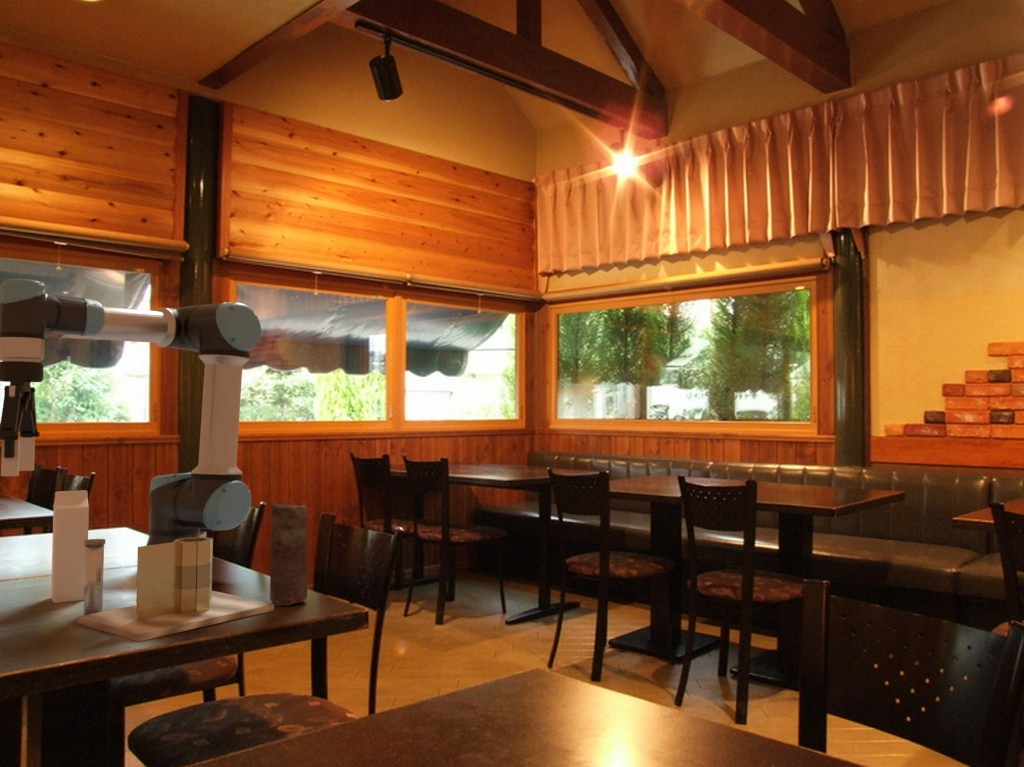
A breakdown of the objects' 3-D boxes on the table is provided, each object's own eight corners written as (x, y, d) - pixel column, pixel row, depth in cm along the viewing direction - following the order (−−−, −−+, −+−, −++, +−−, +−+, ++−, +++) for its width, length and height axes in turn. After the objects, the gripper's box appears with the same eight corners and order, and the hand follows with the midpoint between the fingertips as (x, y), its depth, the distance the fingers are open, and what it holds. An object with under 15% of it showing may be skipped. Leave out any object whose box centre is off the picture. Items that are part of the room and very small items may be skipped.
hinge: (203, 595, 170) (205, 531, 170) (238, 603, 163) (239, 536, 164) (112, 613, 154) (114, 542, 155) (147, 623, 148) (149, 548, 148)
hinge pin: (97, 611, 161) (99, 538, 161) (107, 614, 159) (109, 540, 159) (78, 615, 158) (80, 540, 158) (88, 618, 156) (90, 542, 156)
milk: (86, 600, 171) (90, 491, 171) (52, 603, 167) (56, 492, 168) (83, 594, 176) (86, 488, 176) (50, 597, 172) (53, 490, 173)
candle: (268, 600, 172) (270, 502, 173) (304, 597, 175) (306, 501, 175) (271, 608, 165) (273, 506, 166) (309, 605, 168) (311, 504, 168)
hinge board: (211, 596, 175) (211, 590, 175) (274, 610, 163) (274, 604, 163) (77, 623, 152) (77, 616, 152) (138, 641, 140) (138, 634, 140)
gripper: (13, 363, 170) (10, 469, 169) (-20, 356, 146) (-23, 478, 146) (55, 364, 172) (52, 468, 172) (29, 358, 149) (26, 478, 148)
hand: (18, 473), depth 159 cm, fingers open, 13 cm apart
